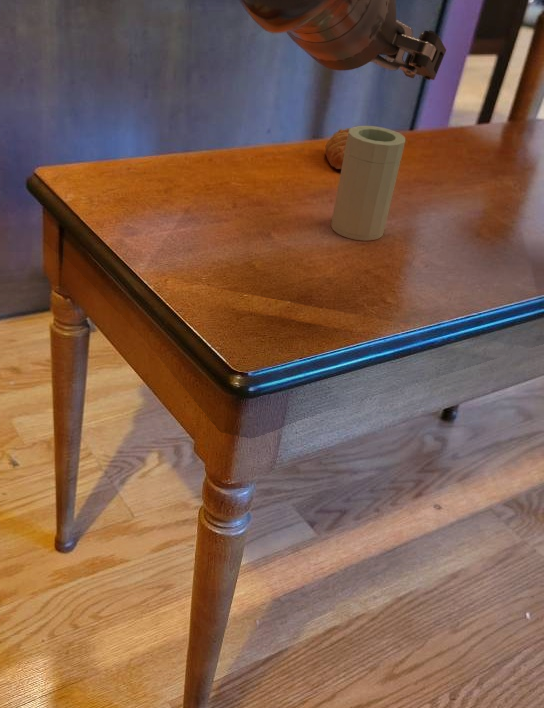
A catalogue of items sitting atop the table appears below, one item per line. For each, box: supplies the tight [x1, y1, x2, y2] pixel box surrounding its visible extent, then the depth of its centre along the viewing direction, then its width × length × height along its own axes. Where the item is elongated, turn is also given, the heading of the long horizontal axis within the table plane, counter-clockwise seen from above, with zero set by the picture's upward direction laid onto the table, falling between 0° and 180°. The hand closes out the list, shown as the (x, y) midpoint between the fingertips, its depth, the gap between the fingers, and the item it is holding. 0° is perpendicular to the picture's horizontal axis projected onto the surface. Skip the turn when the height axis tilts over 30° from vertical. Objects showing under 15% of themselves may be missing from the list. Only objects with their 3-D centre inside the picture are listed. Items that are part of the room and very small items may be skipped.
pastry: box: [324, 127, 351, 170], centre depth 104 cm, size 9×7×4 cm
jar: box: [330, 125, 406, 242], centre depth 84 cm, size 6×6×11 cm
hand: (371, 50), depth 68 cm, fingers open, 8 cm apart
